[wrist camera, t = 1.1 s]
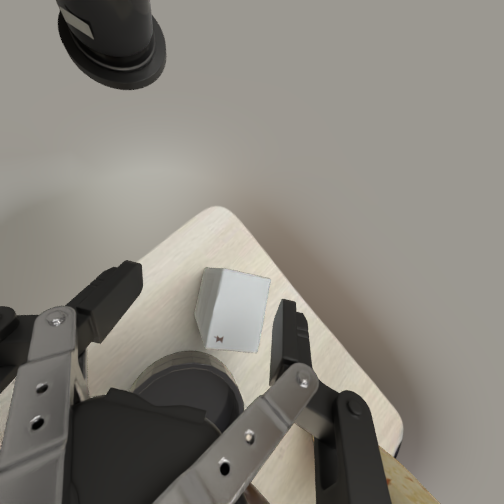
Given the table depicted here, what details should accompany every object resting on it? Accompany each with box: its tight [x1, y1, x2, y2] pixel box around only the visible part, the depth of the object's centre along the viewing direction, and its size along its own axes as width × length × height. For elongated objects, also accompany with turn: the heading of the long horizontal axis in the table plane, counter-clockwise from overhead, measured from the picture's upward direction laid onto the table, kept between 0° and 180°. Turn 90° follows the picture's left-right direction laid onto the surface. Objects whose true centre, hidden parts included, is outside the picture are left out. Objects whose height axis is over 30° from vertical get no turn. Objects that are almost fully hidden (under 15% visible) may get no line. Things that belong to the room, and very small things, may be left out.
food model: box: [312, 435, 440, 504], centre depth 23 cm, size 10×7×20 cm
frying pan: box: [129, 351, 244, 433], centre depth 25 cm, size 13×13×4 cm
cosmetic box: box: [194, 267, 271, 353], centre depth 23 cm, size 6×4×12 cm
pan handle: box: [244, 483, 270, 504], centre depth 26 cm, size 11×2×2 cm, turn 38°
